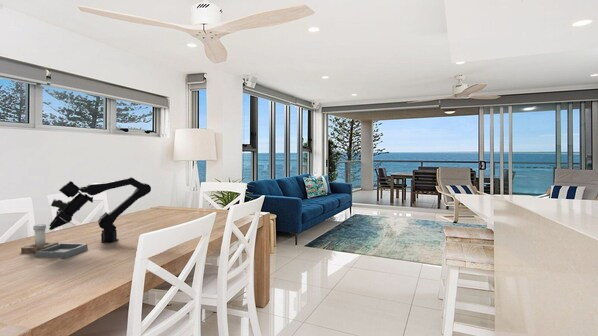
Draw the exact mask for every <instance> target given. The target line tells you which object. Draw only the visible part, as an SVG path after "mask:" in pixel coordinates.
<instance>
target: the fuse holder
mask: <svg viewBox="0 0 598 336" xmlns="http://www.w3.org/2000/svg"><path fill="white" fill-rule="evenodd" d="M57 244H60V243H59V241H57V242H56V241H55V242H53V241H46V245H45V246H42V247H35V243H32V244H28V245H26V246H23V247H20V249H21V250H20V251H21V252H20V253H22V254H36V252H37V251H40V250H43V249H46V248H49V247H51V246H54V245H57Z"/></svg>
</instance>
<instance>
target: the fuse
mask: <svg viewBox="0 0 598 336" xmlns="http://www.w3.org/2000/svg"><path fill="white" fill-rule="evenodd" d="M32 228H33V231H34V244H35V247H42V246H45V245H46V242H47V241H46V229H47V224H45V223H44V224H34V225H33V227H32Z"/></svg>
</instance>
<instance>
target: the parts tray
mask: <svg viewBox="0 0 598 336" xmlns="http://www.w3.org/2000/svg"><path fill="white" fill-rule="evenodd" d="M87 250H88V243H70V242H69V243H66V242H65V243H63V242H60V243H59V244H57V245H54V246H51V247H49V248H46V249H43V250H40V251H37V252H36V253H35V258H60V260H61V259H62V260H64V259H65V260H66V259H68V258H70V257H72V256H75V255H77V254H80V253H83V252H85V251H87Z"/></svg>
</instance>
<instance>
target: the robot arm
mask: <svg viewBox="0 0 598 336" xmlns="http://www.w3.org/2000/svg"><path fill="white" fill-rule="evenodd" d="M129 185H130V186H132V187H134V188H135V190H134V191H133V193H131V195H130V196H128V197H127V198H125V200H124V201H122V202H121V203H120V204H119V205H118V206H116V207H115V208H113V210H112V211H110V212H107V211H105V212H104V213H103V214H102V215H100V216H99V218H98V221H97V223H98V224H97V225H98V227H99V228H100V229H102V230H101V234H100V236H101V237H100V239H101V242H100V241H99V243H100V244H101V243H103V244H107V243H108V244H112V243H114V242H116V241H119V238H117V237H118V235H117V226H116V225H115V221H117V218H118V217H119V216H121V215H122V214H123V213H124V212H125V211H126V210H127V209H128V208H130V207H131V206H132V205H133V204H134V203H135V202H137V201H138V200H139V199H140V198H143V197H145V196H146V195H148V194H150V192H151V191H152V187H151V185H150V184H148V183H145V182H140V181H139V180H137V179H135V178H134V177H132V176H130V177H127V178H122V179H118V180H113V181H107V182H102V183H101V182H99V183H97V182H96V183H89V184H88V185H86V186H81V187H80V186H78V185H76V184H75V183H74V182H73V181H72V180H70V181H69V182H67V183H66V184H64V185H62V186H61V187H60V189H59V190H58V191H59V192H60V193H62V194H63V195H64V196H66V197H67V198H68V199H69V198H72V199H71V200H69V201H67V202H65V201H63V200H62V199H56V198H54V199H53V200H52V202H51V204H50V206H51V207H53V208H57V210H56V215H55V217H54V218H53V220H52V221H51V222H50V224H49V225H48V226H49V228H48V230H50V231H53V230H55V229H56V228H57V229H58V228H60V227H62V226H64V225H67V224H70V222H72V220H73V216H74V215H75V214H76V213H77V212H79V211H80V210H81V208H82V207H83V206H85V205H86V203H88V202H90V203H92V204H93V203H94V197H93V196H96V195H99V194H101V193H103V192H105V191H109V190H113V189H117V188H121V187H126V186H129ZM83 193H84V194H83Z"/></svg>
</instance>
